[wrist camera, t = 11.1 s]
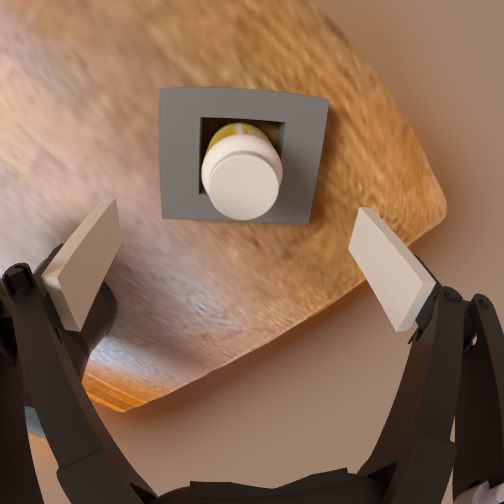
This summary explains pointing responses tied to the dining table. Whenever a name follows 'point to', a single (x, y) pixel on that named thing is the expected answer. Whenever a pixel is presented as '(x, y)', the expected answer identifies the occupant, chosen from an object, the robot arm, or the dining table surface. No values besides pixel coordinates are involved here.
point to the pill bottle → (241, 171)
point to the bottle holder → (244, 107)
